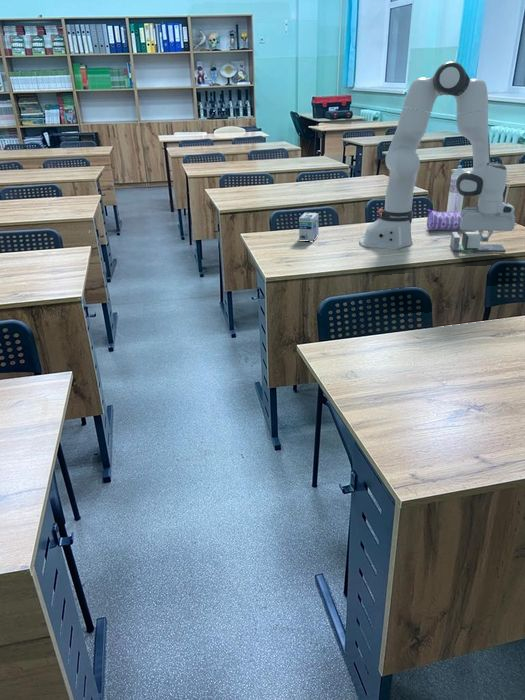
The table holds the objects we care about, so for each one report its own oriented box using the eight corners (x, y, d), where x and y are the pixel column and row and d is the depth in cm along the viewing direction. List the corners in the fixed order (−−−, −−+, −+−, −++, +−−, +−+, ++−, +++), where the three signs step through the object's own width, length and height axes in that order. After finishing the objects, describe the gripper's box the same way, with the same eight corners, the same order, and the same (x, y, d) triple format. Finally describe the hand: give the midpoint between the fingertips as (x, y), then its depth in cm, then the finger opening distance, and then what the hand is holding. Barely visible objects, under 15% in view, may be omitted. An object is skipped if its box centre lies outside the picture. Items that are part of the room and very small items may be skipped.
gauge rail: (452, 252, 211) (454, 237, 208) (449, 246, 218) (451, 232, 215) (505, 253, 208) (508, 237, 205) (500, 247, 215) (503, 232, 212)
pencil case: (470, 226, 246) (473, 205, 241) (478, 231, 237) (481, 210, 233) (423, 228, 245) (425, 208, 241) (429, 233, 237) (432, 212, 233)
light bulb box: (313, 242, 231) (313, 218, 226) (298, 241, 233) (298, 217, 228) (318, 236, 240) (319, 212, 235) (304, 235, 242) (304, 212, 237)
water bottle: (461, 220, 254) (468, 166, 242) (446, 220, 255) (453, 167, 244) (459, 217, 260) (466, 164, 248) (445, 217, 261) (451, 164, 250)
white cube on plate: (465, 249, 210) (466, 236, 207) (461, 242, 217) (463, 231, 215) (479, 249, 209) (481, 236, 206) (475, 243, 216) (477, 231, 214)
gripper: (463, 208, 204) (458, 243, 210) (519, 208, 200) (512, 243, 207) (460, 205, 209) (456, 238, 215) (514, 204, 206) (508, 239, 212)
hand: (484, 241), depth 211 cm, fingers closed
